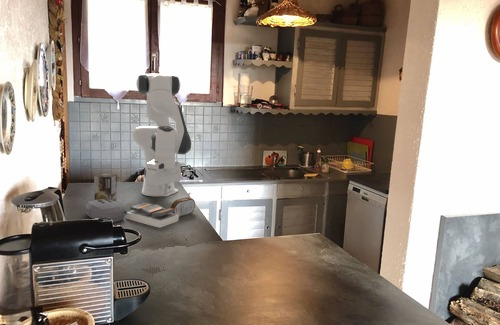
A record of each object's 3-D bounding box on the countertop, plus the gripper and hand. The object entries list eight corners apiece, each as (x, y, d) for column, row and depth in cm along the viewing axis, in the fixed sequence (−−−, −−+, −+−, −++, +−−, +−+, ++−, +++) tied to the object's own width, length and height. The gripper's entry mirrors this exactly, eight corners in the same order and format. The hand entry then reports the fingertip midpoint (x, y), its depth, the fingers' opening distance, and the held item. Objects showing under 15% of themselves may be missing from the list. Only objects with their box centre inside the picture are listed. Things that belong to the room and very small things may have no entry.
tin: (191, 211, 207) (192, 195, 206) (195, 213, 206) (196, 196, 204) (169, 217, 195) (170, 200, 194) (174, 219, 193) (174, 202, 192)
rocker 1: (145, 204, 198) (145, 201, 198) (153, 207, 196) (153, 204, 195) (130, 209, 189) (130, 205, 189) (138, 212, 187) (138, 208, 187)
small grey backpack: (80, 215, 190) (99, 226, 176) (80, 197, 189) (100, 208, 175) (110, 210, 201) (131, 220, 187) (110, 193, 199) (132, 203, 186)
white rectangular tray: (134, 209, 204) (134, 203, 204) (178, 220, 191) (178, 214, 191) (113, 215, 193) (114, 208, 192) (159, 227, 180) (159, 220, 179)
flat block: (166, 211, 192) (166, 208, 192) (175, 211, 189) (174, 208, 189) (152, 216, 183) (151, 212, 183) (160, 216, 181) (160, 212, 181)
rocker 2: (156, 206, 195) (156, 203, 194) (163, 210, 193) (164, 207, 192) (141, 211, 186) (141, 208, 186) (149, 215, 184) (149, 212, 184)
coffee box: (116, 205, 209) (117, 174, 206) (111, 208, 202) (111, 177, 200) (99, 203, 209) (100, 173, 207) (93, 207, 203) (93, 175, 200)
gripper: (174, 160, 193) (173, 188, 195) (143, 164, 175) (142, 195, 177) (185, 161, 189) (183, 190, 192) (154, 166, 172) (153, 198, 174)
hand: (163, 193), depth 184 cm, fingers closed
